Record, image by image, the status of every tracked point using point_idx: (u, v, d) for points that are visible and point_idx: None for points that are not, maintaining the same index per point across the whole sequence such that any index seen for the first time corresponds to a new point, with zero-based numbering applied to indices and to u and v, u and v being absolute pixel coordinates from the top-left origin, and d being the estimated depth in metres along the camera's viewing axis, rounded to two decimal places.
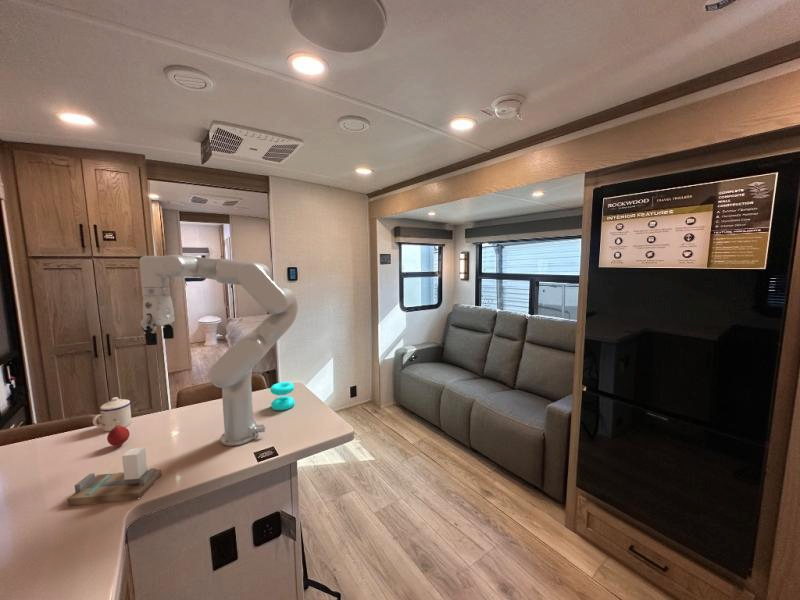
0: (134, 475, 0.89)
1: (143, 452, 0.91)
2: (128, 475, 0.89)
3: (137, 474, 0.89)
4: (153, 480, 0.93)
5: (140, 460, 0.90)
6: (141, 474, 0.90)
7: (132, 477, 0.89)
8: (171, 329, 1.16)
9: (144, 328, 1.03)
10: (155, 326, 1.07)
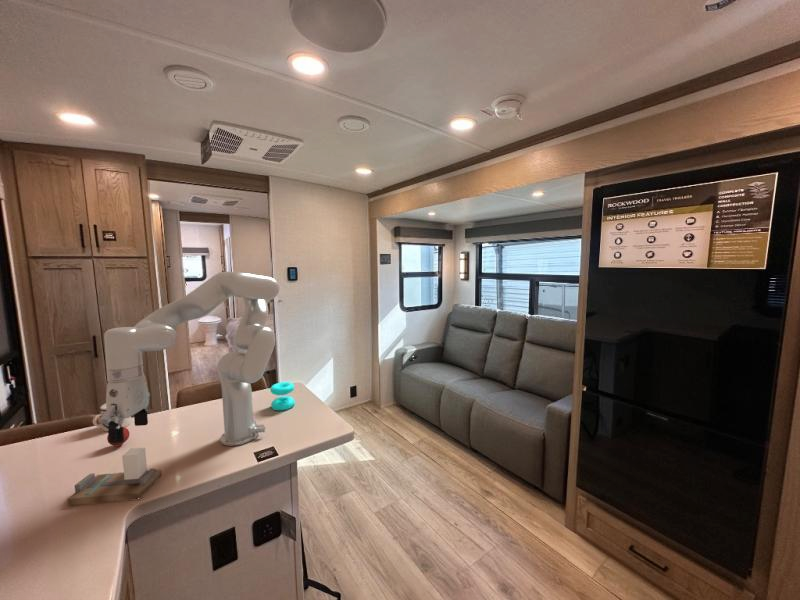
0: (134, 475, 0.89)
1: (143, 452, 0.91)
2: (128, 475, 0.89)
3: (137, 474, 0.89)
4: (153, 480, 0.93)
5: (140, 460, 0.90)
6: (141, 474, 0.90)
7: (132, 477, 0.89)
8: (144, 414, 0.93)
9: (106, 425, 0.81)
10: (121, 419, 0.84)
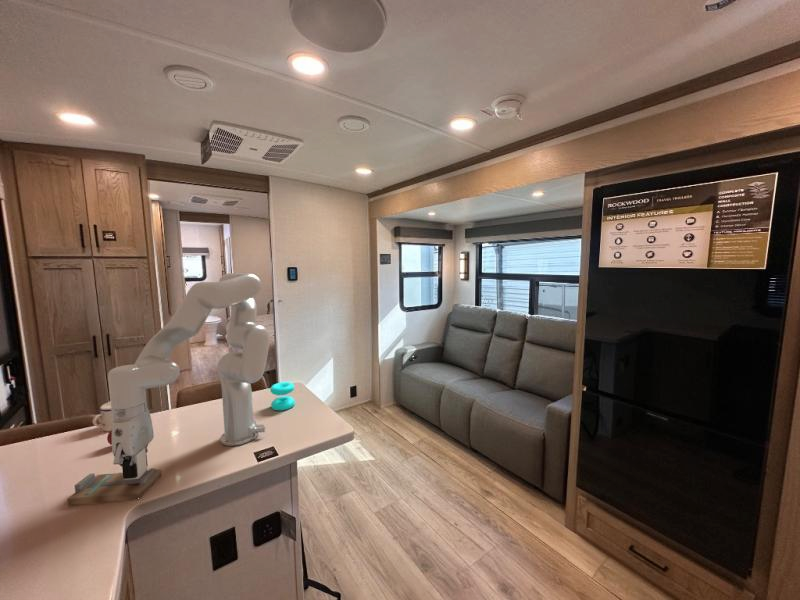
0: None
1: (143, 452, 0.91)
2: None
3: (137, 474, 0.89)
4: (153, 480, 0.93)
5: (140, 460, 0.90)
6: (141, 474, 0.90)
7: None
8: None
9: (121, 464, 0.85)
10: (132, 456, 0.88)
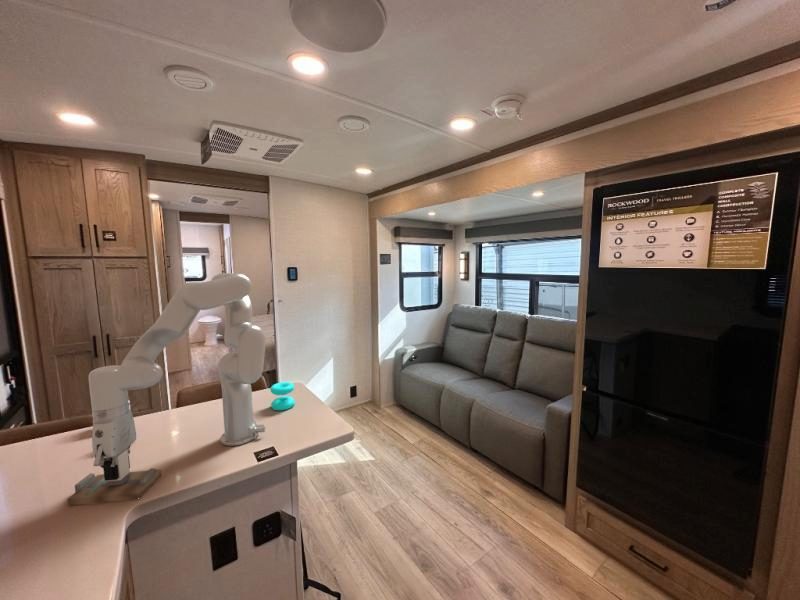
0: None
1: (125, 453, 0.91)
2: None
3: (119, 476, 0.88)
4: (153, 480, 0.93)
5: (122, 461, 0.89)
6: (123, 476, 0.90)
7: None
8: None
9: (101, 465, 0.85)
10: (113, 458, 0.87)
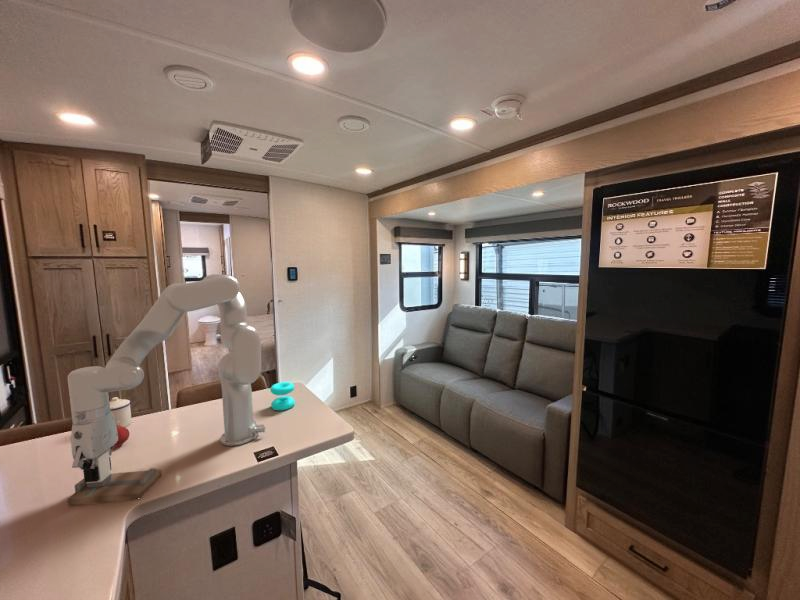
0: None
1: (106, 455, 0.90)
2: None
3: (99, 477, 0.88)
4: (153, 480, 0.93)
5: (102, 463, 0.89)
6: (104, 477, 0.89)
7: None
8: None
9: (81, 467, 0.84)
10: (93, 459, 0.86)
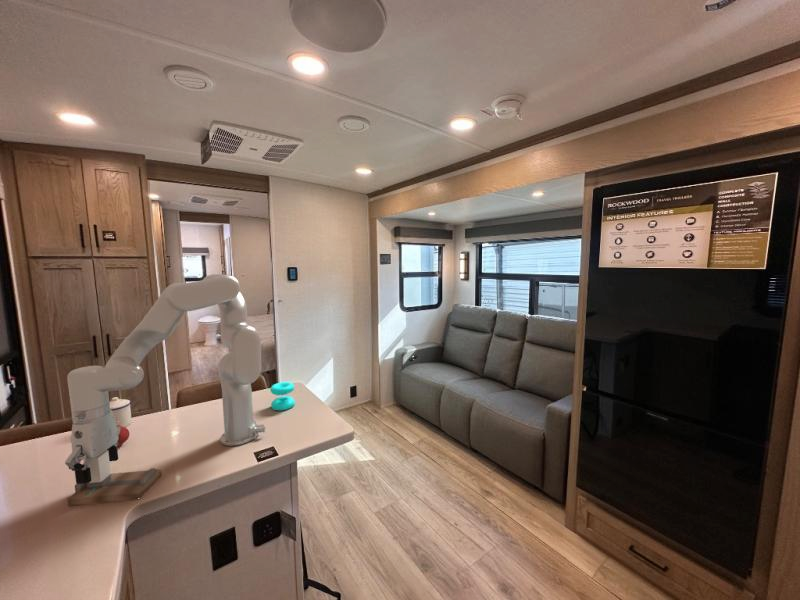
0: (96, 478, 0.88)
1: (106, 455, 0.90)
2: None
3: (99, 477, 0.88)
4: (153, 480, 0.93)
5: (102, 463, 0.89)
6: (103, 477, 0.89)
7: (94, 480, 0.88)
8: (114, 450, 0.94)
9: (71, 467, 0.81)
10: (88, 459, 0.85)
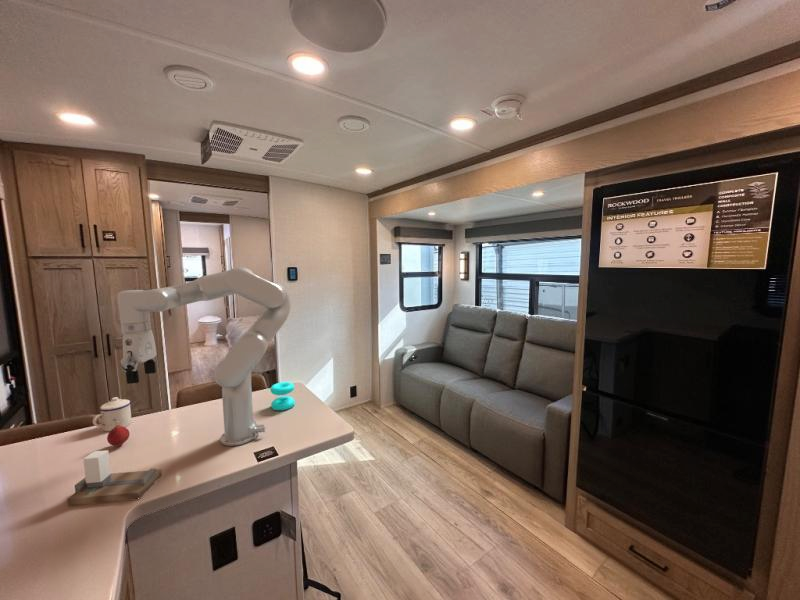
0: (96, 478, 0.88)
1: (106, 455, 0.90)
2: (90, 478, 0.87)
3: (99, 477, 0.88)
4: (153, 480, 0.93)
5: (102, 463, 0.89)
6: (103, 477, 0.89)
7: (94, 480, 0.88)
8: (153, 363, 1.12)
9: (125, 367, 0.99)
10: (136, 363, 1.03)
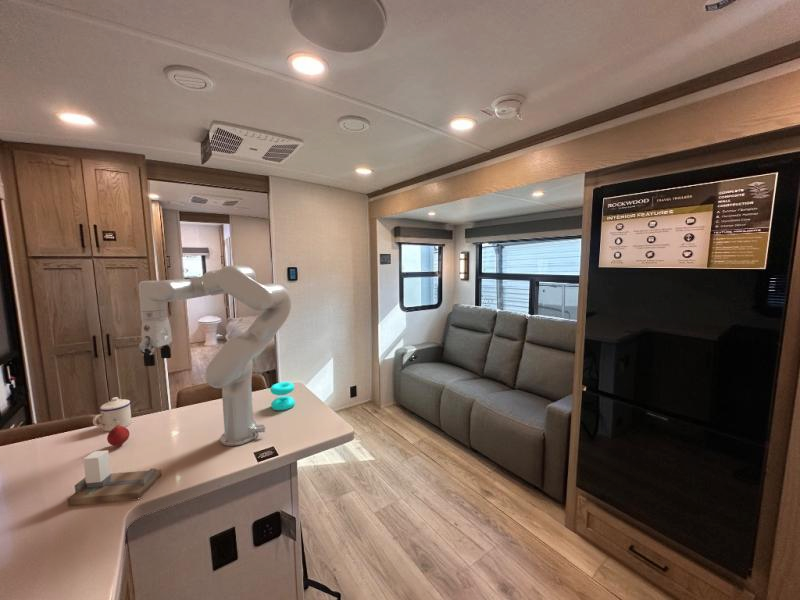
0: (96, 478, 0.88)
1: (106, 455, 0.90)
2: (90, 478, 0.87)
3: (99, 477, 0.88)
4: (153, 480, 0.93)
5: (102, 463, 0.89)
6: (103, 477, 0.89)
7: (94, 480, 0.88)
8: (168, 349, 1.21)
9: (142, 350, 1.08)
10: (153, 348, 1.12)
